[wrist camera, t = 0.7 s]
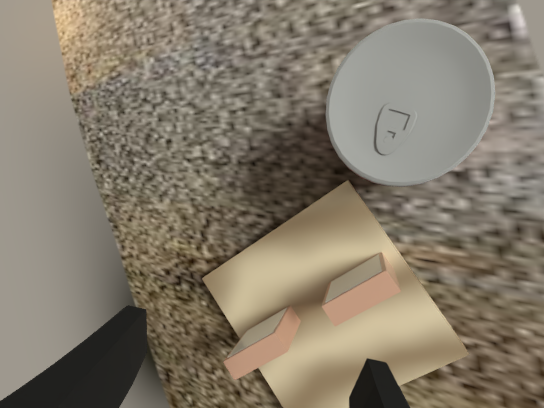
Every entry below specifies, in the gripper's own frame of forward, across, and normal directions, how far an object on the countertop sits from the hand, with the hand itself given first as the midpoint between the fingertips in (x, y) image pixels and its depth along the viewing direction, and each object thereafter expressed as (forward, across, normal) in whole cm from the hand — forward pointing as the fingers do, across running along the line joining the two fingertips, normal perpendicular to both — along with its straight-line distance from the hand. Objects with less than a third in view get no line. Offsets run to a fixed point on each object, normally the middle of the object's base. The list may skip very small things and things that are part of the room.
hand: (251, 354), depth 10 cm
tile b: (+13, -1, +13) cm, 19 cm away
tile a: (+14, -7, +6) cm, 17 cm away
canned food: (+20, -7, -4) cm, 21 cm away
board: (+15, -5, +11) cm, 19 cm away
